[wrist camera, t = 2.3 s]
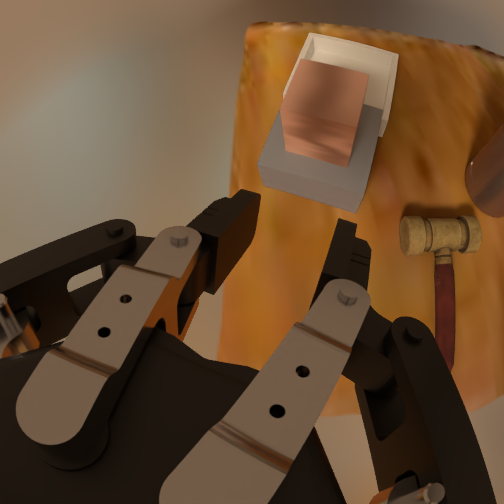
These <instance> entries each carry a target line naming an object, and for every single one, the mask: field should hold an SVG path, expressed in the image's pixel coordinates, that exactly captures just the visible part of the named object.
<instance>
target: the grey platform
mask: <svg viewBox="0 0 504 504" xmlns="http://www.w3.org/2000/svg"><path fill="white" fill-rule="evenodd" d="M382 115H383V110H382V109H379V108H376V107H373V106H369V105H366V104H363V108H362V113H361V117H360V121H359V125H358V129H357V133H356V137H355V141H354V145H353V148H352V152H351V156H350V160H349V163H348V167H347V168H345V167H342V166H338V165H335V164H332V163H328V162H325V161H321V160H318V159H314V158H311V157H307V156H303V155H300V154H296V153H292V152H288V151H286V149H285V142H284V135H283V127H282V121H281V114H280V109H279V111H278V114H277V116H276V119H275V121H274V124H273V126H272V128H271V131H270V133H269V136H268V138H267V141H266V143H265V146H264V148H263V151H262V153H261V156H260V158H259V160H258V163H257V166H258V169H259V172H260V175H261V178H262V182H263V185H264V186H267V187H270V188H274V189H277V190H281V191H284V192H288V193H291V194H294V195H298V196H301V197H305V198H308V199H311V200H315V201H318V202H321V203H324V204H327V205H331V206H334V207H337V208H340V209H343V210H346V211H349V212H353V213H356V212H357V210H358V208H359V205H360V203H361V201H362V199H363V196H364V193H365V189H366V185H367V181H368V177H369V173H370V169H371V165H372V161H373V156H374V152H375V148H376V143H377V139H378V134H379V129H380V124H381V120H382Z"/></svg>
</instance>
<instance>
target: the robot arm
mask: <svg viewBox="0 0 504 504" xmlns="http://www.w3.org/2000/svg"><path fill="white" fill-rule="evenodd" d="M465 182H466V187H467V190H468V193H469V195H470V197H471V199H472V200H473V202H474V203H475V204H476V206H477V207H478V208H479V209H480V210H481V211H483V212H484V213H486V214H488V215H490V216H493V217H502V216H504V123H503V124H502V125H501V127H500V128H499V129H498V130H497V131H496V133H495V134H494V135H493V136H492V137H491V139H490V140H489V141H488V142H487V143H486V144H485V146H484V147H483V148H482V149H481V150H480V151H479V152H478V154H477V155H476V156H474V158H473V159H472V160H471V162H470V163H469V164H468V166H467V168H466V172H465ZM260 200H261V195H260V194H258V193H255V192H251V191H247V190H244V189H241V190H239V191H238V192H237V193H236V194H235V195H234V196H233V197H232V198H231V199H230V198H227V197H224V198H222V199H219V200H216V201H214V202H213V203H212V204H210V205H209V206H208V208H206V209H205V210H204V211H203V212H202V213H200V214H199V215H198V216H197V217H196V218H195V219H193V220H192V222H190V223H189V224H188V225H187V226H186V227H184V226H174V227H169V228H166V229H164V230H163V231H161V232H160V233H159V234H158V236H157V237H156V238H152V237H144V236H136V228H135V225H134V224H133V223H132V222H130V221H128V220H123V219H114V220H109V221H106V222H103V223H100V224H98V225H95V226H92V227H89V228H87V229H84V230H81V231H79V232H76V233H73V234H71V235H68V236H66V237H63V238H61V239H58V240H56V241H53V242H50V243H48V244H45V245H43V246H41V247H38V248H36V249H34V250H31V251H28V252H26V253H24V254H22V255H19V256H17V257H15V258H12V259H10V260H7V261H5V262H3V263H1V264H0V504H347V503H346V501H345V499H344V496H343V494H342V491H341V489H340V487H339V484H338V482H337V480H336V477H335V475H334V472H333V470H332V468H331V465H330V463H329V460H328V458H327V455H326V453H325V451H324V448H323V446H322V443H321V441H320V439H319V436H318V434H317V431H316V429H315V427H314V425H315V423H316V421H317V419H318V417H319V416H320V414H321V412H322V410H323V408H324V406H325V404H326V402H327V401H328V399H329V397H330V395H331V393H332V391H333V389H334V387H335V385H336V383H337V381H338V379H339V377H340V375H341V374H342V375H343V376H345V377H346V378H348V379H350V380H351V381H353V382H354V383H355V391H356V395H357V399H358V403H359V407H360V411H361V415H362V419H363V423H364V427H365V431H366V435H367V439H368V444H369V448H370V453H371V457H372V461H373V466H374V470H375V475H376V480H377V485H378V490H379V493H377V494H376V495H375V496H374V497H373V498H372V499H371V501H370V503H369V504H497V503H496V499H495V496H494V492H493V488H492V485H491V481H490V478H489V475H488V471H487V468H486V465H485V462H484V458H483V455H482V452H481V449H480V446H479V444H478V441H477V438H476V435H475V432H474V430H473V427H472V424H471V421H470V419H469V416H468V414H467V411H466V409H465V406H464V404H463V401H462V399H461V396H460V394H459V391H458V389H457V387H456V384H455V382H454V380H453V377H452V375H451V373H450V371H449V368H448V366H447V364H446V362H445V359H444V357H443V355H442V353H441V351H440V349H439V347H438V345H437V343H436V340H435V338H434V336H433V334H432V333H431V331H430V329H429V328H428V327H427V326H426V325H425V324H424V323H422V322H421V321H419V320H417V319H415V318H412V317H399V318H397V319H396V320H394V322H393V323H392V322H391V321H389V320H387V319H386V318H384V317H382V316H381V315H379V314H378V313H377V312H376V311H375V310H374V309H373V308H372V307H371V305H370V303H371V299H370V296H369V294H368V292H367V287H368V279H369V269H370V259H371V248H370V246H369V244H368V243H367V241H365V240H362V239H359V238H356V237H355V234H356V228H357V224H356V223H352V222H349V221H346V220H343V219H340V218H339V219H338V222H337V225H336V228H335V232H334V235H333V238H332V241H331V244H330V248H329V251H328V254H327V257H326V260H325V263H324V266H323V269H322V272H321V275H320V278H319V281H318V284H317V287H316V290H315V293H314V296H313V299H312V302H311V305H310V308H309V311H308V313H307V314H306V316H305V317H304V319H303V320H302V322H301V323H299V322H296V323H295V324H294V325H293V327H292V328H291V329H290V331H289V332H288V333H287V335H286V336H285V338H284V339H283V340H282V342H281V343H280V345H279V346H278V347H277V349H276V350H275V351H274V353H273V354H272V355H271V357H270V358H269V360H268V361H267V362H266V364H265V365H264V366H263V368H262V369H261V370H260V371H258V370H256V369H253V368H251V367H248V366H242V365H236V364H230V363H224V362H219V361H213V360H208V359H205V358H203V357H202V356H200V355H199V354H198V353H196V352H195V351H193V350H192V349H191V348H190V347H188V346H187V345H186V344H184V343H183V340H184V337H185V335H186V333H187V330H188V328H189V326H190V324H191V321H192V319H193V316H194V314H195V312H196V310H197V307H198V304H199V297H200V295H201V294H202V293H203V291H205V292H207V293H210V294H213V295H214V294H215V293H216V291H217V290H218V288H219V287H220V286H221V284H222V283H223V282H224V280H225V279H226V277H227V276H228V275H229V273H230V272H231V270H232V269H233V268H234V266H235V265H236V264H237V262H238V261H239V259H240V258H241V257H242V255H243V254H244V252H245V251H246V250H247V248H248V247H249V246H250V244H251V242H252V240H253V238H254V235H255V231H256V225H257V219H258V213H259V207H260ZM98 265H101V270H102V275H103V278H101V279H98V280H96V281H94V282H92V283H89V284H87V285H85V286H83V287H80V288H78V289H76V290H74V291H72V292H68V290H67V283H68V281H69V280H70V278H72V277H73V276H74V275H77V274H79V273H82V272H84V271H86V270H88V269H91V268H93V267H95V266H98ZM67 336H68V337H67ZM65 337H67V338H66V340H65V341H62V342H59V343H55V342H57V341H59V340H61V339H63V338H65ZM53 343H55V344H53ZM51 344H52V345H51Z"/></svg>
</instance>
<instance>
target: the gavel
mask: <svg viewBox="0 0 504 504" xmlns="http://www.w3.org/2000/svg"><path fill="white" fill-rule="evenodd" d="M399 237H400V246H401V249H402V252H403V253H404V254H405V255H421V254H422V253H423V251H426V252H434V255H435V257H436V259H435V275H434V277H435V311H436V326H435V340H436V343H437V345H438V347H439V349H440V351H441V353H442V355H443V357H444V359H445V362H446V364H447V366H448V368H449V371H450V372H451V370H452V367H453V365H454V350H455V283H454V271H453V267H452V260H451V257H450V255H451V251H456V250H458V251H459V252H460V253H474V252H476V251H477V250H478V249H479V247H480V244H481V238H482V232H481V226H480V223H479V221H478V219H477V218H476V217H475V216H459V217H458V218H457V219H455V218H426V219H425V220H422V218H421V217H420V216H404V217H403V218H402V220H401V222H400V228H399Z"/></svg>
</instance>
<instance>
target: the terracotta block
mask: <svg viewBox="0 0 504 504" xmlns="http://www.w3.org/2000/svg"><path fill="white" fill-rule="evenodd" d="M368 79H369V74H366V73H362V72H358V71H354V70H351V69H347V68H343V67H339V66H334V65H330V64H326V63H321V62H316V61H311V60H306V59H300V61H299V64H298V66H297V68H296V71H295V73H294V75H293V78H292V80H291V82H290V85H289V87H288V90H287V92H286V94H285V97H284V99H283V102H282V104H281V106H280V114H281V121H282V127H283V135H284V142H285V149H286V151H288V152H292V153H296V154H300V155H303V156H307V157H311V158H314V159H318V160H321V161H325V162H328V163H332V164H335V165H338V166H342V167H345V168H347V167H348V163H349V160H350V156H351V152H352V148H353V145H354V141H355V137H356V133H357V129H358V125H359V121H360V117H361V113H362V108H363V103H364V99H365V94H366V89H367V84H368Z"/></svg>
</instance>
